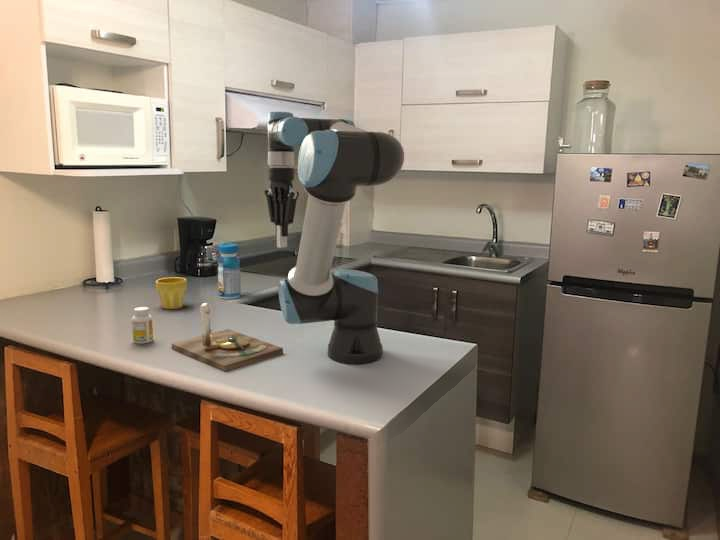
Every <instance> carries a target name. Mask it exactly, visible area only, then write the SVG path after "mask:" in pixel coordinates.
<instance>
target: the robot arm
mask: <svg viewBox="0 0 720 540" xmlns="http://www.w3.org/2000/svg"><path fill="white" fill-rule="evenodd" d="M266 128H267V166H269V167H268V169H267V179H268V181H270V184H269V188H268V189H265V190H264V191H263V192H264V195H265V197H266V201H267V207H268V208H267V209H268V213H269V219H270V222H271V223H273V224H274V225H275V236H276V248H279V249H283V248H287V247H288V235H289V225H292V224H293V223H294V218H295V215H296V214H295V212H296V208H297V207H296V206H297V200H298V198H299V196H300V192H299V191H295V190H294V185H293V181H294V180H295V169H294V167H293V166H295V149H294V148H295V147H300V148H299V152H298V157H297V163H298V165H297V175H298V176H297V177H298V180H299V182H300V184H301V185H302V186H303V188H304V191H305V192H306V194H307V195H308V196H307V202H306V208H305V213H304V219H303V225H302V230H301V235H300V237H301V238H300V241H299V247H298V253H297V258H296V264H295V266H294V267H292V268H291V269H289V272H288V275H287V279H286V278H284V279H281V280H278V281H279V282H278V285H277V286H278V289H277V291H278V300H279V304H280V311H281V313H282V317H283V319H284V321H285V322H286V323H287V324H290V325H303V324H312V323H313V324H314V323H322V322H331V321H334V323H333V330H332V333H331V336H330V339H329V342H328V345H327V357H329V359H331V360H332V361H336V362H339V363H343V364H353V365H354V364H355V365H356V364H357V365H358V364H359V365H360V364H368V363H373V362H375V361H379V360H380V359H381V358H383V355H384V353H383V352H384V347H383V344H382V343H381V339H380V334H379V331H378V297H379V288H378V287H379V286H378V278H377V277H376V276H375V275H374V274H372V273H370V272H366V271H362V270H356V269H344V268H339V269H336V270H334V273H333V275H332V274H331V270H332V265H333V260H334V256H335V251H336V249H337V243H338V239H339V235H340V231H341V227H342V226H341V225H342V221H343V218H344V214H345V213H344V212H345V207H346V204H347V203H348V202H351V201H352V199H354V197H355V195H356V191H357V187H369V186H370V187H372V186H373V187H375V186H379V185H385V184H386V183H388V182H390V181H391V180H393V179H394V178H395V177H397V176H398V174H399V173H400V171H401V170H402V168H403V165H404V162H405V152H404V148H403V146H402V144H401V142H400V141H399V140H398V139H397V138H396V137H395V136H394V135H391V134H389V133H385V132H381V131H367V130H364V129H363V128H359V127H357V126H356V124H355V122H354V121H353V120H350V119H345V118H339V119H338V118H337V119H336V118H312V117H311V118H309V117H308V118H307V117H297V116H294V114H293V113H292V112H290V111H271V112H268V114H267V123H266Z"/></svg>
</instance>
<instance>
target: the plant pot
mask: <svg viewBox="0 0 720 540" xmlns="http://www.w3.org/2000/svg"><path fill="white" fill-rule="evenodd" d="M187 284H188V282H187V279H186V278H185V277H176V276H175V277H173V276H172V277H163V278H159V279H156V281H155V289H156V291H157V292H158V295H159V298H160V299H159V300H160V301H161V306H162V308H163V309H166V310H173V309H174V310H176V309H180V308H182V307H183V305H184V299H185V293H186V290H187V289H188V288H187V287H188V285H187Z"/></svg>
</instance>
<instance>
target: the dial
mask: <svg viewBox="0 0 720 540" xmlns="http://www.w3.org/2000/svg"><path fill="white" fill-rule="evenodd" d="M212 311H213V307H212V305H211V304H210V303H208V302H204V303H202V304H201V305H200V306H199V312H200V320H201V321H200V324H201V325H200V326H201V336H202V345H203V346H204V347H205V348H206V349H207V350H208V349H214V348H220V349H226V350H233V349H241V350H242V351H245V348H244V347H246V346H248V345H249V339H248V338H246V337H243V336H227V337H222V338H219V339H217V340H216V342H212V333H213V331H212V330H213V329H212Z"/></svg>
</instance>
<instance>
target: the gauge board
mask: <svg viewBox="0 0 720 540" xmlns="http://www.w3.org/2000/svg"><path fill="white" fill-rule="evenodd" d="M227 336H243V337H246V338H248V339H249V345H248V346H246V347H244V348H245V351H242V350H241V349H233V350H226V349H220V348H214V349H208V350H207V349H206V348H205V347H204V346H203V345H202V335H200V336H196V337H191V338H188V339H184V340H180V341H176V342H174V343H171V349H172V350H174V351H176V352H178V353H181V354H183V355H186V356H188V357H190V358H193V359H195V360H197V361H200V362H202V363H204V364H205V365H209V366H212V367H213V368H216V369H218V370H220V371H223V372H229V371H231V369H232V370H234V368H235V369H238V368H241V367H244V366H247V364H248V365H250V364H249V363H251V364H253V362H254V363H257V362H259V360H260V361H263V360H265V359H270V358H273V357H276V356H279V355H281V354H283V353H284V347H281V346H278V345H275V344H273V343H270V342H267V341H264V340H261V339H257V338H255V337H253V336H249V335H247V334H243V333H240V332H237V331H234V330H232V329H229V328H228V329H223V330H219V331H217V332H216V331H215V332H212V342H216V340H217V339H219V338H222V337H227ZM272 356H273V357H272ZM269 357H270V358H269ZM262 359H263V360H262ZM256 361H257V362H256ZM240 366H241V367H240ZM237 367H238V368H237ZM228 370H229V371H228Z"/></svg>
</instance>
